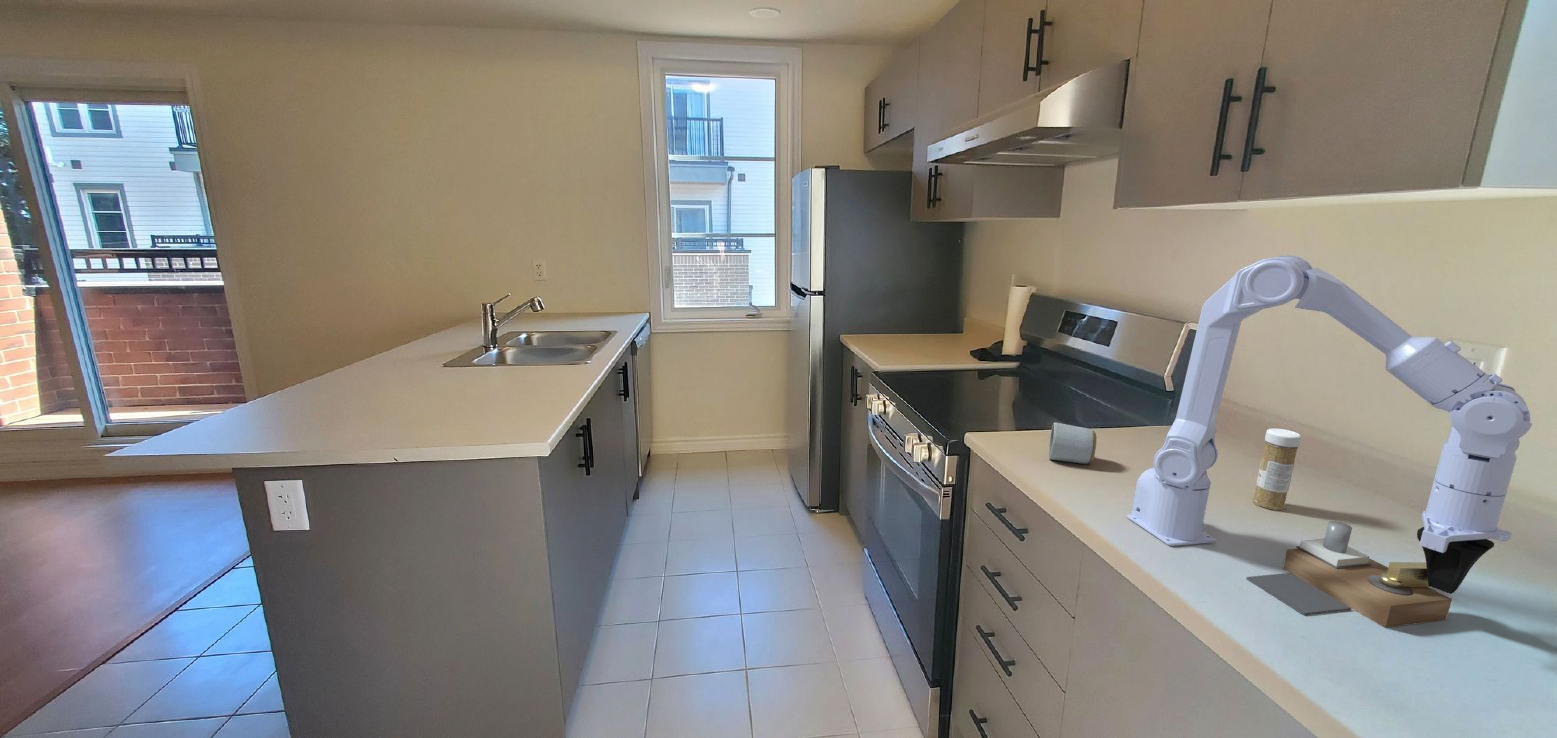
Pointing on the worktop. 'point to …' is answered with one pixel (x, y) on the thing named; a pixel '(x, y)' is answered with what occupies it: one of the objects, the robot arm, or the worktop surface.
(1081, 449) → the ceramic mug
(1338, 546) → the cover
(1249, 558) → the worktop surface
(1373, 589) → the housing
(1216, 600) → the worktop surface
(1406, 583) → the lever handle
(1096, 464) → the worktop surface
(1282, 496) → the sprinkles bottle
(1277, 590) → the mat
